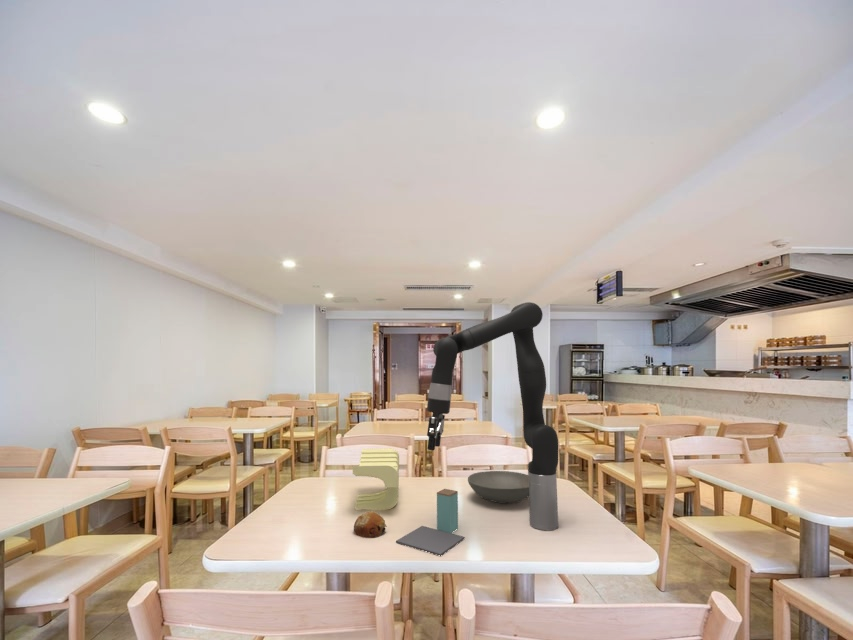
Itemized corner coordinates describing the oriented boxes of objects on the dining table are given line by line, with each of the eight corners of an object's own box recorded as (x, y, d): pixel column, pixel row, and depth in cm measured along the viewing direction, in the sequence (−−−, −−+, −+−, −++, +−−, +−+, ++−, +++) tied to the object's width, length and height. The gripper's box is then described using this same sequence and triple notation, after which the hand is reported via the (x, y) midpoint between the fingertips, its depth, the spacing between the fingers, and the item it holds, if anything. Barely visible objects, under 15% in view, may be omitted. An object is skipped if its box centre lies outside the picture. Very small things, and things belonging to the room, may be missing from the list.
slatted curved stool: (397, 517, 145) (397, 465, 147) (352, 518, 144) (352, 466, 146) (399, 491, 174) (399, 448, 176) (361, 492, 174) (362, 449, 176)
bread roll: (374, 536, 138) (368, 511, 141) (394, 529, 132) (387, 503, 135) (352, 546, 130) (345, 520, 133) (372, 539, 125) (365, 512, 128)
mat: (422, 527, 135) (422, 525, 135) (464, 538, 126) (464, 536, 127) (396, 542, 124) (396, 540, 124) (440, 556, 115) (440, 554, 115)
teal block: (445, 525, 137) (444, 488, 138) (458, 529, 134) (457, 491, 135) (437, 530, 133) (436, 492, 134) (450, 534, 130) (449, 495, 131)
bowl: (547, 512, 149) (547, 488, 150) (471, 512, 150) (470, 488, 151) (530, 489, 176) (529, 469, 177) (465, 489, 177) (465, 469, 178)
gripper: (446, 400, 127) (440, 453, 125) (454, 398, 141) (448, 446, 139) (423, 397, 129) (417, 449, 127) (433, 395, 143) (427, 443, 141)
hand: (433, 448), depth 133 cm, fingers open, 8 cm apart
